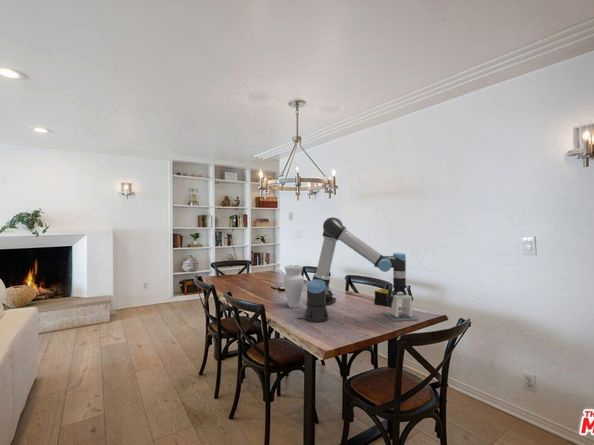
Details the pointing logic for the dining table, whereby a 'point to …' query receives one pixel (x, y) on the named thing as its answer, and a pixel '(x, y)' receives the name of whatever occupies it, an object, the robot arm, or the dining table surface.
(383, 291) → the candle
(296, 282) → the vase
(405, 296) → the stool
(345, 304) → the dining table surface
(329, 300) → the casserole
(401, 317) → the mat
